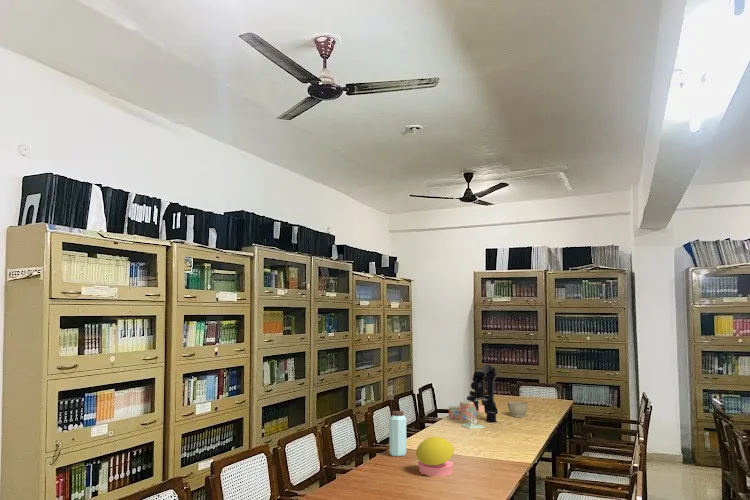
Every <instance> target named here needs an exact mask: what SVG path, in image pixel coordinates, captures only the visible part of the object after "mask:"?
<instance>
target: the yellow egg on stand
mask: <svg viewBox="0 0 750 500" xmlns="http://www.w3.org/2000/svg"><path fill="white" fill-rule="evenodd" d="M454 451H455V449H454V446H453V444H452V443H451V442H450V441H448V440H447V439H446V438H443V437H441V436H429V437H427V438H426V439H424V440H423V441H421V442H420V443H419V445H418V446H417V448H416V451H415V454H416V457H417V460H418V467H419V468H418V469H419V473H420V472H421V473H422V474H425V475H430V476H429V477H431V476H445V477H448V476H447V475H449V476H451V475H452V474H453V467H454V462H452V461H451V460H450V459H451V458H452V457H453V455H454ZM421 473H420V474H421ZM422 474H421V475H422ZM450 474H451V475H450ZM425 475H424V476H425Z"/></svg>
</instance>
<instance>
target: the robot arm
mask: <svg viewBox="0 0 750 500" xmlns="http://www.w3.org/2000/svg"><path fill="white" fill-rule="evenodd" d="M497 377H498V371H497V369H496V368H495V367H493V366H492V365H491V364H485V365H484V366H483V367H482V368H481V369H478V370H475V371H474V373H473V375H472V382H471V384H470V387H471V388H470V389H472V390H469V395H467V397H466V400H467V401H468V402H473V403H474V405H475V407H476V410H478V405H479V400H480V401H481V405H484V414H486V417H485V418H486V420H485V421H486V422H488V423H498V421H497V415H498V414H499V413H498V412H499V411H498V408H497V403H496V402H495V399H494V397H495V380H496V379H497ZM485 378H486V380H487V394H486V395H484V393H485V389H484V387H485V386H484V384H485V383H484V382H485Z"/></svg>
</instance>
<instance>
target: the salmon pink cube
mask: <svg viewBox="0 0 750 500" xmlns="http://www.w3.org/2000/svg"><path fill="white" fill-rule="evenodd" d="M476 411H477V413H485V408H484V405H482V404H478V410H476Z"/></svg>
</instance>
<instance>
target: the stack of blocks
mask: <svg viewBox="0 0 750 500" xmlns="http://www.w3.org/2000/svg"><path fill="white" fill-rule="evenodd" d="M470 418H474V419H477V420H478V412H477V411H476V407H475V405H474V403H473V401H467V402H462V401H461V402H459V406H456V405H455V406H452V405H451V406H448V419H450V420H451V421H452V420H468V419H470Z"/></svg>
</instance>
